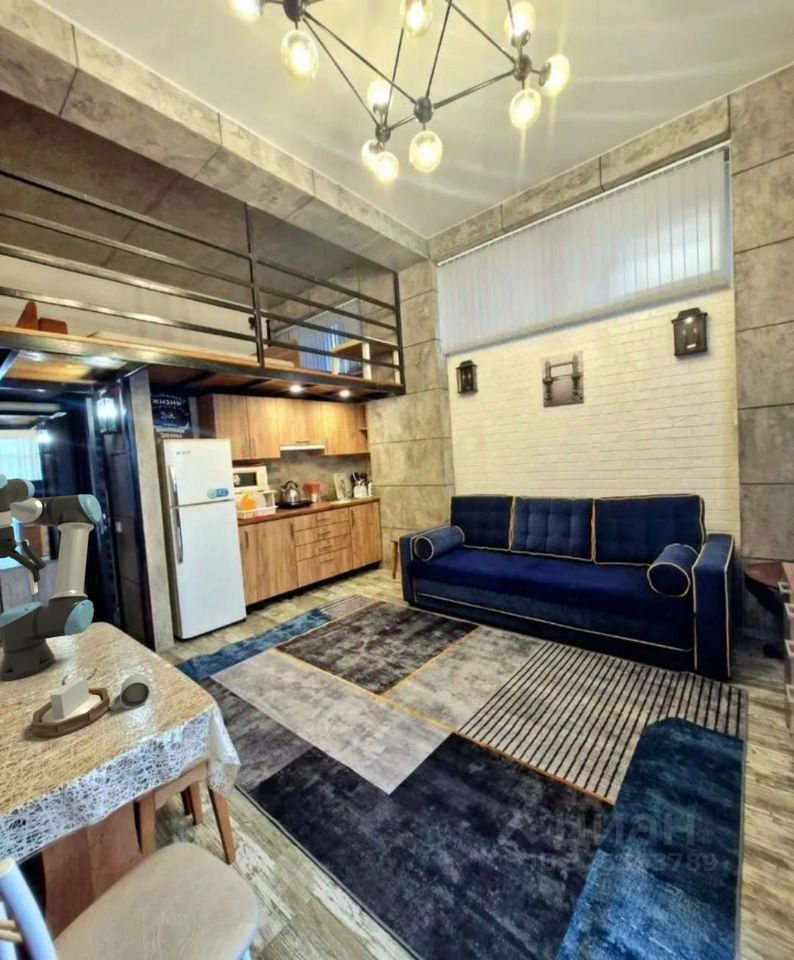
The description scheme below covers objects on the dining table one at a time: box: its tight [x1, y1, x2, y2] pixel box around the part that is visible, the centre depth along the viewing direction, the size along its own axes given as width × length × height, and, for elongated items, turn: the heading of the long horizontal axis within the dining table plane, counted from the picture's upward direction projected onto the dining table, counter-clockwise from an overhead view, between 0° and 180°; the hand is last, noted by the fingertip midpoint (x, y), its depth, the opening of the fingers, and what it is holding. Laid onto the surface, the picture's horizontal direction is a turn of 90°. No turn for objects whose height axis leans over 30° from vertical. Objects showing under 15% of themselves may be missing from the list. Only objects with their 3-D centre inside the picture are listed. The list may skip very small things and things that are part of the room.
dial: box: [42, 676, 101, 722], centre depth 122 cm, size 14×14×8 cm
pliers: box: [61, 667, 98, 686], centre depth 141 cm, size 10×1×20 cm
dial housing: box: [31, 687, 111, 739], centre depth 122 cm, size 18×18×4 cm
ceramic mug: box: [109, 673, 151, 712], centre depth 127 cm, size 11×8×8 cm
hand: (6, 597), depth 126 cm, fingers open, 13 cm apart
